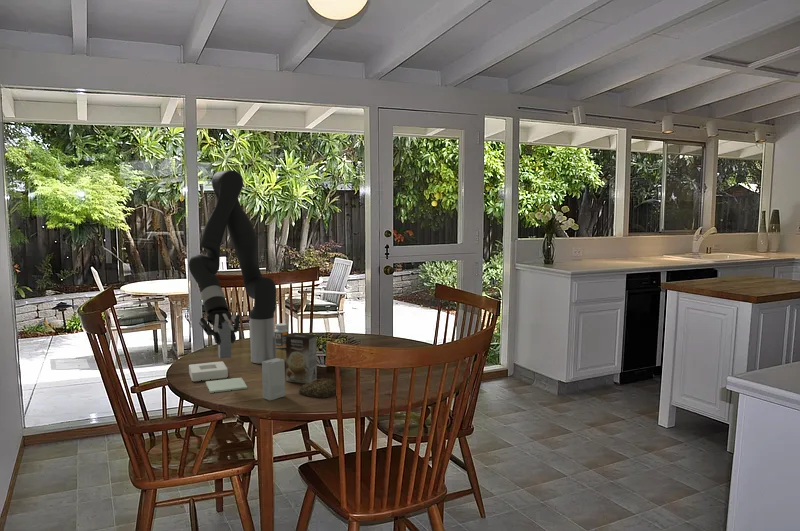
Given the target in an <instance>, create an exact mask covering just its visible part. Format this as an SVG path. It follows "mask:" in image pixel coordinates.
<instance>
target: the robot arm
mask: <svg viewBox="0 0 800 531" xmlns="http://www.w3.org/2000/svg"><path fill="white" fill-rule="evenodd" d="M211 178H212V179H211V185H212V186H211V187H212V189H213V192H214V194H215V196H216V198H217V202H216V205H215V207H214V208H213V211H212V213H211V215H210V216H209V218H208V220H207V222H206V223H205V226H204V228H203V231H202V232H203V233H202V236H201V239H200V243H199V244H200V247H201V248H202V249H204V250H205V251H206V252H207V253H206V254H207V255H203V254H194V255H192V256H191V257H190V259H189V261H188V270H189V272H190V274H191V275H192V277H193V279H194V280H195V282H196V284H197V285H198V287H199V291H200V293H201V299H202V300H201V301H202V305H203V307H204V308H203V309H204V311H205V314H206V317H201V318H200V319H199V325H200V327H201V328H202V330H203V331H204V333H205V334H206V335H207V336H213V339H214V342H215V344H217V346H218V345H220V344H221V339H220V335H219V332H218V327H220V321H222V320H226V321H227V322H228V323H229V327H230V328H231V344H234V343H235V342H236V341H237V340H236V339H237V336H236V333H238V329H239V328H240V317H241V316H240V314H236V315H233V314H232V313H231V312H230V309H229V306H228V303H227V300H226V296H225V293H224V292H223V290H222V286H221V283H220V280H219V278H218V277H217V276H216V275H217V273H218V272H219V270H220V262H221V261H220V260H221V258H220V257H221V256H220V254H221V245H222V242H223V238H224V235H225V231H226V228H227V230H228V233H229V236H230V240H231V244H232V246H233V249H234V252H235V254H236V258H237V261H238V264H239V267H240V270H241V275H242V280H243V286H244V288H245V290H244V291H245V292H246V294H247V296H248V297H250V298H251V299H254V306H253V308H252V309H251V310H250V311H249V337H250V338H249V339H250V340H249V342H250V362H251V363H253V364H262V361H267V360H271V359H275V358H277V348H276V337H275V334H274V331H275V312H276V308H277V287H276V284H275V283H276V282H275V281H274V280H273V279H272V278H270V277H267V276H263V273H262V271H261V269H260V266H259V262H258V253H259V241H258V237H257V234H256V230H255V228H254V225H253V223H252V222H251V220H250V218H249V217H248V215H247V214H246V212H245V211H244V209H243V207H242V206H241V203H240V200H239V196H240V195H241V192H242V189H243V187H244V178H243V176H242V175H241V173H240V172H239V171H236V170H233V169H230V170H229V169H226V170H220V171H219V170H218V171H217V172H215V173H214V174H213V176H212V177H211ZM230 320H232V322H233V325H232V322H231V321H230ZM210 325H211V326H212V328H211V326H210Z"/></svg>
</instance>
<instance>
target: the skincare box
mask: <svg viewBox="0 0 800 531" xmlns="http://www.w3.org/2000/svg"><path fill="white" fill-rule="evenodd" d="M285 366H286V365H285V359H283V358H279V357H276V358H275V359H271V360H267V361H262V363H261V377H262V378H261V380H262V398H263V399H264V400H267V401H274V400H277V399H280V398H283V397H285V396H286V376H285V375H286V370H285V369H286V367H285Z"/></svg>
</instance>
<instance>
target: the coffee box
mask: <svg viewBox="0 0 800 531" xmlns="http://www.w3.org/2000/svg"><path fill="white" fill-rule="evenodd" d="M285 353H286V355H285V356H286V357H285V358H286V362H285V363H286V365H285V366H286V367H285V369H286V370H285V375H286V376H285V382H289V383H290V382H292V383H299V384H307V383H309V382H312V381H314V380H315V379H318V378H317V370H318V369H317V368H318V367H317V365H318V364H317V360H318V359H317V334H312V333H302V332H292V333H291V334H288V336H286V348H285Z"/></svg>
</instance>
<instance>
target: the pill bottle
mask: <svg viewBox="0 0 800 531" xmlns="http://www.w3.org/2000/svg"><path fill="white" fill-rule="evenodd" d="M288 335H289V329H287V323H283V322H282V323H275V329H274V336H275V337H276V349H286V336H288Z"/></svg>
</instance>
